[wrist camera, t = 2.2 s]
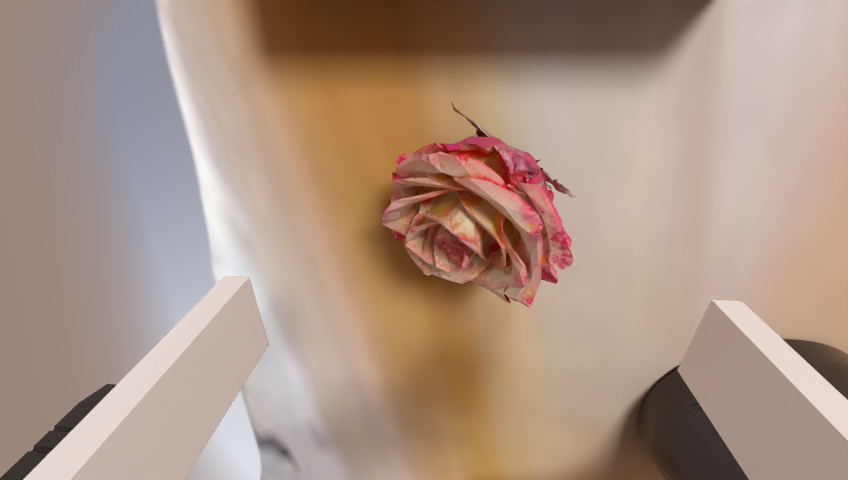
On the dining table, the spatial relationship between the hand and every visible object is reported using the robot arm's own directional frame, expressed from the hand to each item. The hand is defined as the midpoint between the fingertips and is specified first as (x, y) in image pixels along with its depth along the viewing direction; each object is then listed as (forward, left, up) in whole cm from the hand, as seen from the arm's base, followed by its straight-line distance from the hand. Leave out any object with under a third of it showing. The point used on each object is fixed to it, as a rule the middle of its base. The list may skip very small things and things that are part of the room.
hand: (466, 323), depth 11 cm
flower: (0, 0, -12) cm, 12 cm away
